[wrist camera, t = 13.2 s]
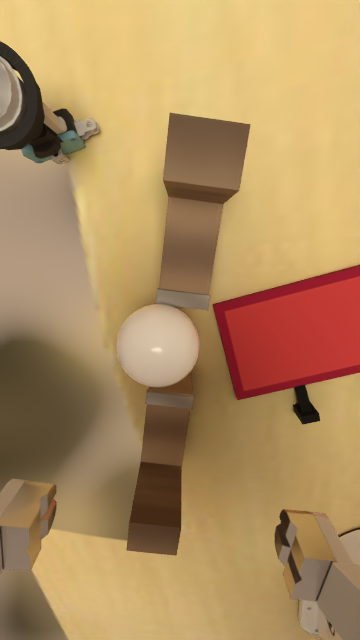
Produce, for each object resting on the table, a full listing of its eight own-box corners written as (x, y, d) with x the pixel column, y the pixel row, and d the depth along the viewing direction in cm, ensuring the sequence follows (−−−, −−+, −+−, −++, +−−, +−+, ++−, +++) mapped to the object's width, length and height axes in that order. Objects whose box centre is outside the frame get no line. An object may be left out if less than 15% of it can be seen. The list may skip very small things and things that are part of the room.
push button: (89, 95, 23) (24, -3, 14) (110, 163, 25) (65, 116, 15) (18, 121, 24) (-92, 44, 14) (43, 185, 25) (-41, 154, 16)
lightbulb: (145, 366, 30) (135, 417, 19) (118, 313, 28) (91, 334, 18) (198, 341, 30) (220, 377, 19) (173, 287, 28) (181, 292, 18)
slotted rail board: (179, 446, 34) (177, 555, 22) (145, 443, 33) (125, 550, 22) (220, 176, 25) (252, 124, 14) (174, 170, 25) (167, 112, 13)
